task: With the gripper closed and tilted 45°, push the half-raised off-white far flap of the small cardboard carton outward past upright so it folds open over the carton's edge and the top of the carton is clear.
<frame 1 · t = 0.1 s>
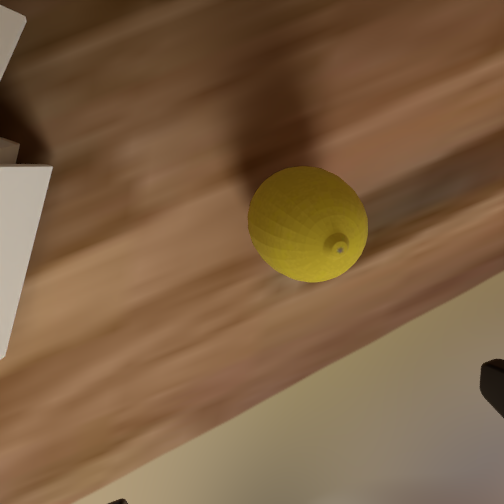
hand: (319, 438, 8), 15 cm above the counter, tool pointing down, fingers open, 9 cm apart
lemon: (278, 203, 22), on the counter
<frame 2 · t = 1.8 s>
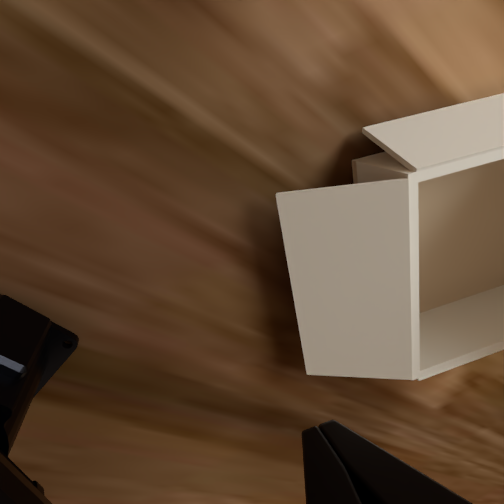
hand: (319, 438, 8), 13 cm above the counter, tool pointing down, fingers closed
carton: (442, 230, 24), on the counter
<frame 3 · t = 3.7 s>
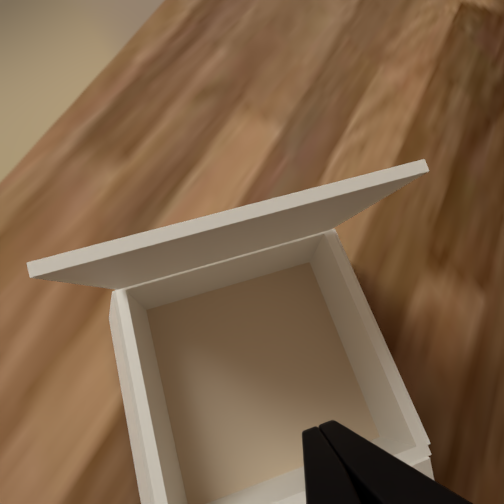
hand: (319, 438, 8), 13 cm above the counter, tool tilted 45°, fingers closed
carton flap: (233, 239, 14), point 10 cm above the counter, hinge at -15.0°
carton: (256, 370, 22), on the counter
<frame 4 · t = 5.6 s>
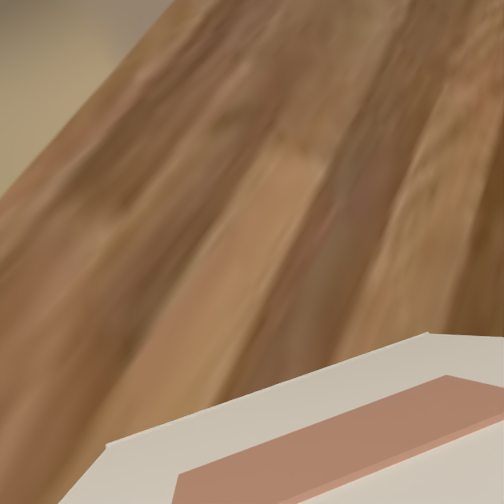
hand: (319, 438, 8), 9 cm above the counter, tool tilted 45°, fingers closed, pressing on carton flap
carton flap: (318, 428, 8), point 10 cm above the counter, hinge at -12.0°, touching gripper
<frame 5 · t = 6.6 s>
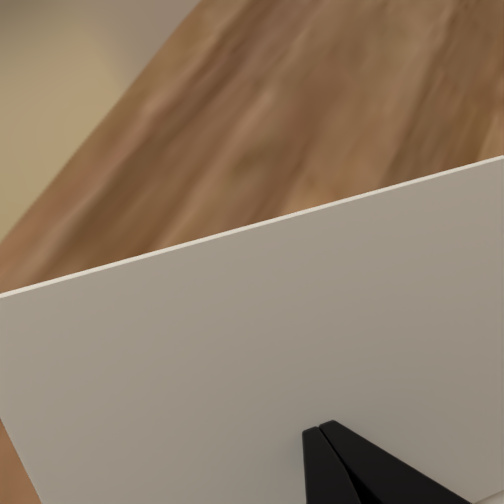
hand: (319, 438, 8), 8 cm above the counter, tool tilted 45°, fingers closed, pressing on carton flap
carton flap: (308, 407, 8), point 8 cm above the counter, hinge at 55.1°, touching gripper
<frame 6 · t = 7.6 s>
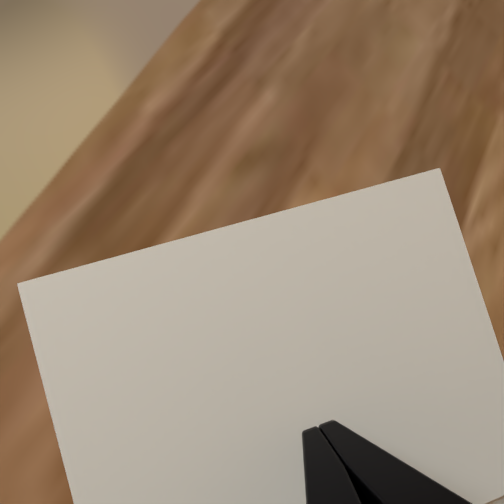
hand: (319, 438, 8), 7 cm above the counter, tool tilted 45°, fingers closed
carton flap: (295, 384, 9), point 7 cm above the counter, hinge at 72.4°
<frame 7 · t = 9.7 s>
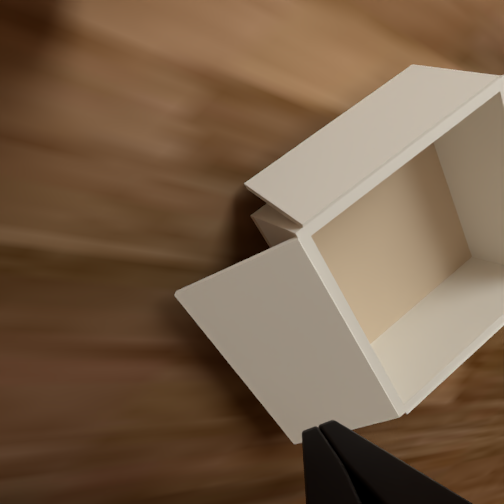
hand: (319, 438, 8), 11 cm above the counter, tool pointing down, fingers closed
carton: (378, 238, 22), on the counter
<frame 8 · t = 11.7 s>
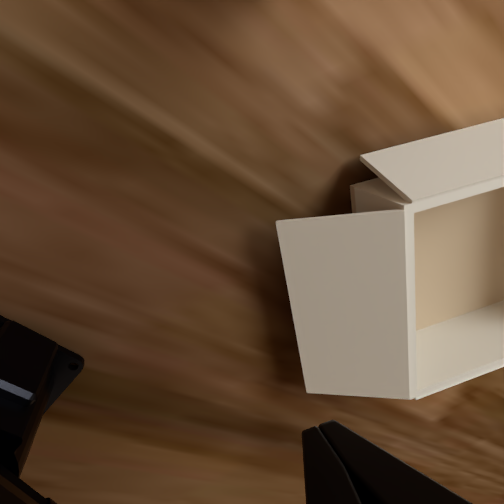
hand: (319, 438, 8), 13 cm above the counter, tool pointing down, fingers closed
carton: (439, 250, 24), on the counter
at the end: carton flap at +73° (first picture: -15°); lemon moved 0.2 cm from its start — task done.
